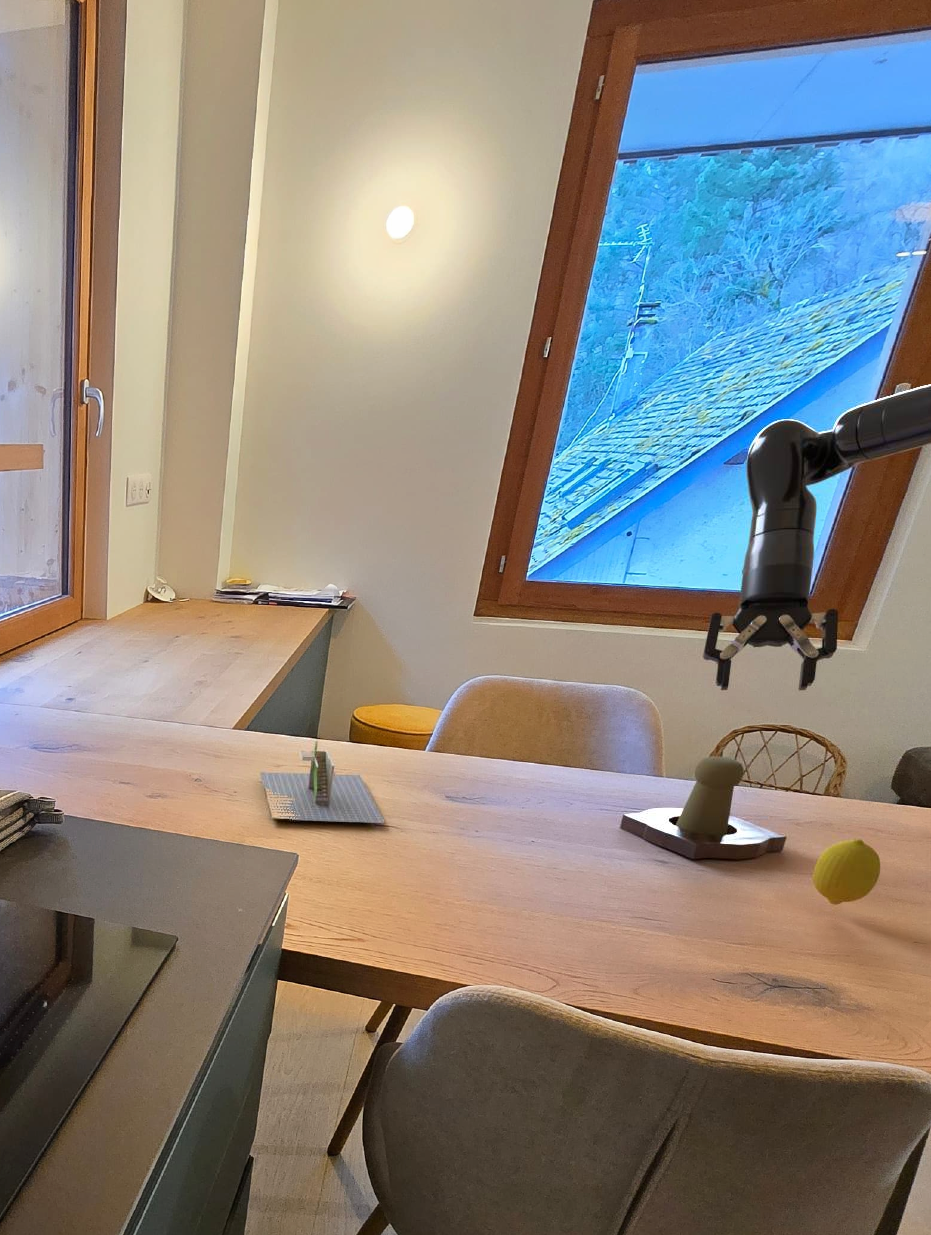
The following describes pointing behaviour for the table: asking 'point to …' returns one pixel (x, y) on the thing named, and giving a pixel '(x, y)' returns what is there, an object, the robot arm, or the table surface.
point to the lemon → (846, 871)
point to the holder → (702, 836)
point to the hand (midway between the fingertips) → (763, 688)
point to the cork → (711, 796)
